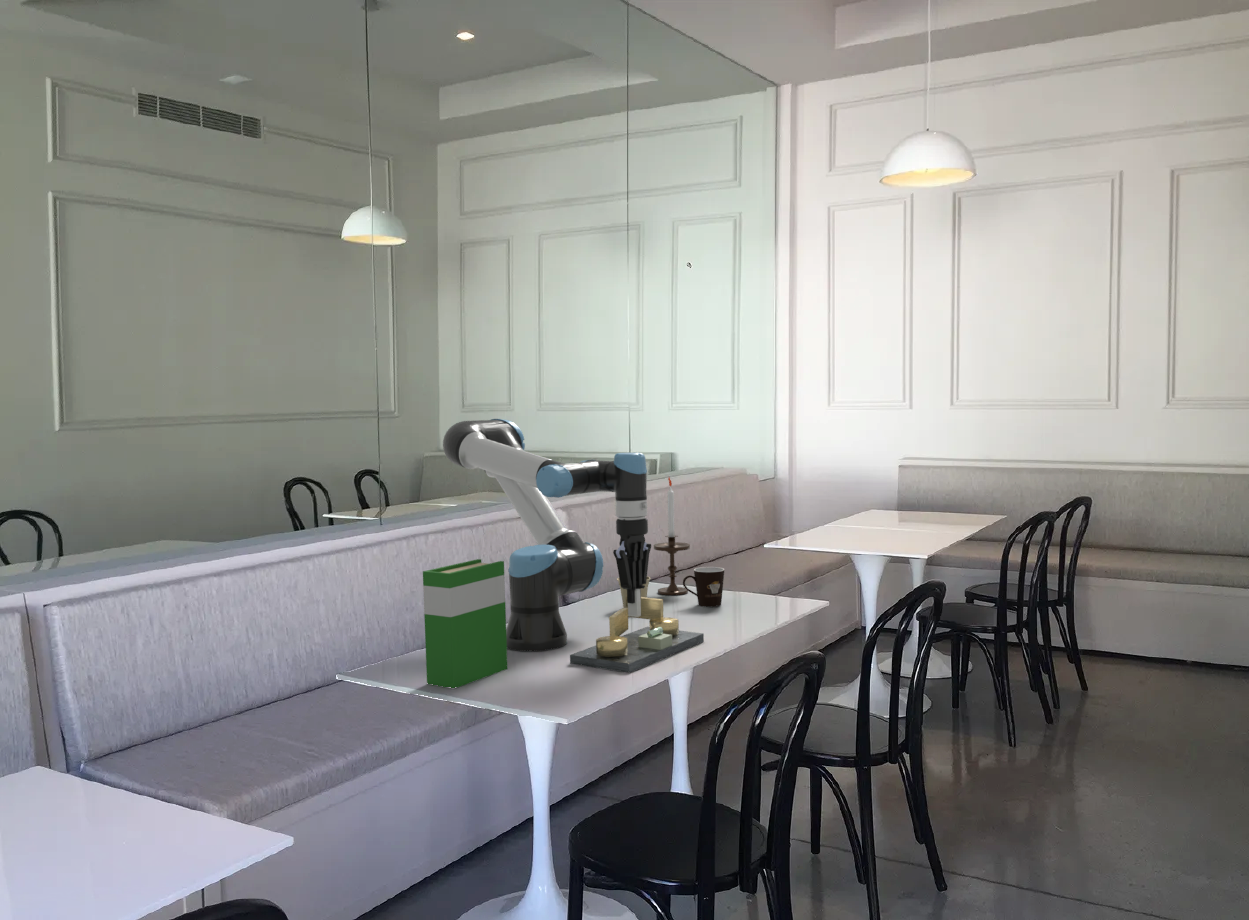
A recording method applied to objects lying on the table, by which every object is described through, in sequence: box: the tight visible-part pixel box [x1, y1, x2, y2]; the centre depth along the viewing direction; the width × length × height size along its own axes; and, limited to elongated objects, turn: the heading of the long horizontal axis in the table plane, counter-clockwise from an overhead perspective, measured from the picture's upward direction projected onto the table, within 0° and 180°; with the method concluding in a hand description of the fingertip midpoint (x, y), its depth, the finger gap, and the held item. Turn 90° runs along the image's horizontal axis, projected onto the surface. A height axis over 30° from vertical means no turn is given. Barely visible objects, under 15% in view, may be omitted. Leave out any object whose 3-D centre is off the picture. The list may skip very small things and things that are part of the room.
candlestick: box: [653, 476, 691, 597], centre depth 315 cm, size 11×11×35 cm
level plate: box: [569, 626, 705, 674], centre depth 244 cm, size 32×16×6 cm, turn 146°
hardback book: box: [422, 558, 508, 689], centre depth 227 cm, size 18×7×24 cm, turn 147°
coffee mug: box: [682, 566, 725, 608], centre depth 297 cm, size 12×9×10 cm
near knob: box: [595, 607, 629, 657], centre depth 239 cm, size 14×7×8 cm, turn 162°
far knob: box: [626, 596, 680, 636], centre depth 255 cm, size 14×7×8 cm, turn 56°
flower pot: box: [616, 575, 651, 608], centre depth 294 cm, size 9×9×9 cm
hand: (634, 615), depth 252 cm, fingers closed
